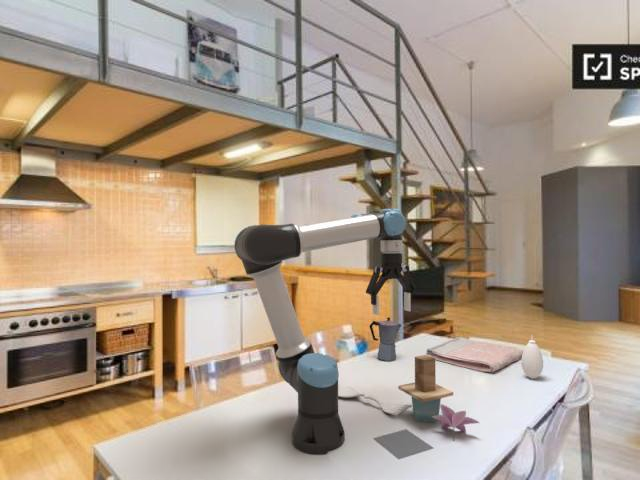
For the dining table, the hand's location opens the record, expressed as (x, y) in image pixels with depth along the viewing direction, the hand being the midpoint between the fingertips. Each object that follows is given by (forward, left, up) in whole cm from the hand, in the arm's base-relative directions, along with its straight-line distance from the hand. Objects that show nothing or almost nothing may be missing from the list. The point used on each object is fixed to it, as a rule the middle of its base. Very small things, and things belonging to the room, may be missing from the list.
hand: (391, 312), depth 139 cm
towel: (+66, +24, -32) cm, 77 cm away
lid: (+1, -16, -23) cm, 28 cm away
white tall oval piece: (+65, -7, -32) cm, 73 cm away
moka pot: (+27, +42, -32) cm, 59 cm away
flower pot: (+1, -16, -32) cm, 36 cm away
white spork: (-9, +3, -32) cm, 34 cm away
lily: (+1, -28, -32) cm, 42 cm away
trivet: (-15, -25, -32) cm, 43 cm away
